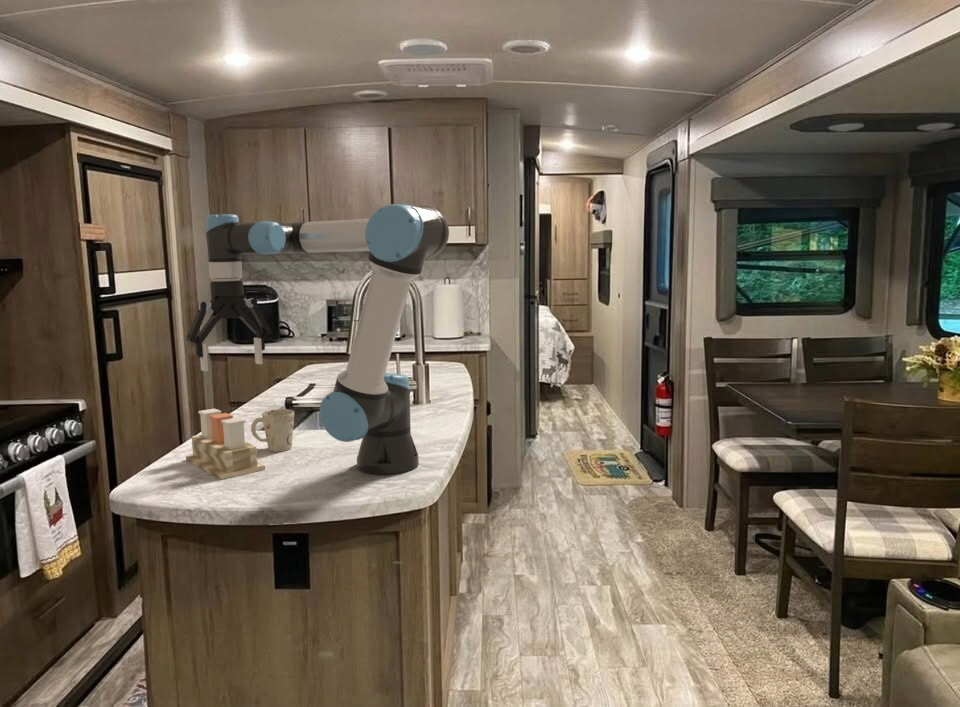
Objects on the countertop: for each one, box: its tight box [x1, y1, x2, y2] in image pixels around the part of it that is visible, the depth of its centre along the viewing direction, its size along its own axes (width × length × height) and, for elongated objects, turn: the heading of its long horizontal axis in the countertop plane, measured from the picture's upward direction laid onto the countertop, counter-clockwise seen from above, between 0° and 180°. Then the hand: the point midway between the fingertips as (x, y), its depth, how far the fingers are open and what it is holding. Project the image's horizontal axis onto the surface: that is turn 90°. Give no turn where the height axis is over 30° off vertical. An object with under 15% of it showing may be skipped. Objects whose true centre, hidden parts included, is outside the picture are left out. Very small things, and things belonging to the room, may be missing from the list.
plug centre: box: [209, 412, 234, 445], centre depth 185 cm, size 4×4×7 cm
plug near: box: [221, 417, 246, 450], centre depth 180 cm, size 4×4×7 cm
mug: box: [250, 408, 295, 453], centre depth 200 cm, size 8×13×10 cm, turn 78°
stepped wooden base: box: [185, 434, 266, 480], centre depth 186 cm, size 22×11×6 cm, turn 42°
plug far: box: [197, 408, 222, 439], centre depth 190 cm, size 4×4×7 cm
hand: (232, 367), depth 182 cm, fingers open, 13 cm apart
